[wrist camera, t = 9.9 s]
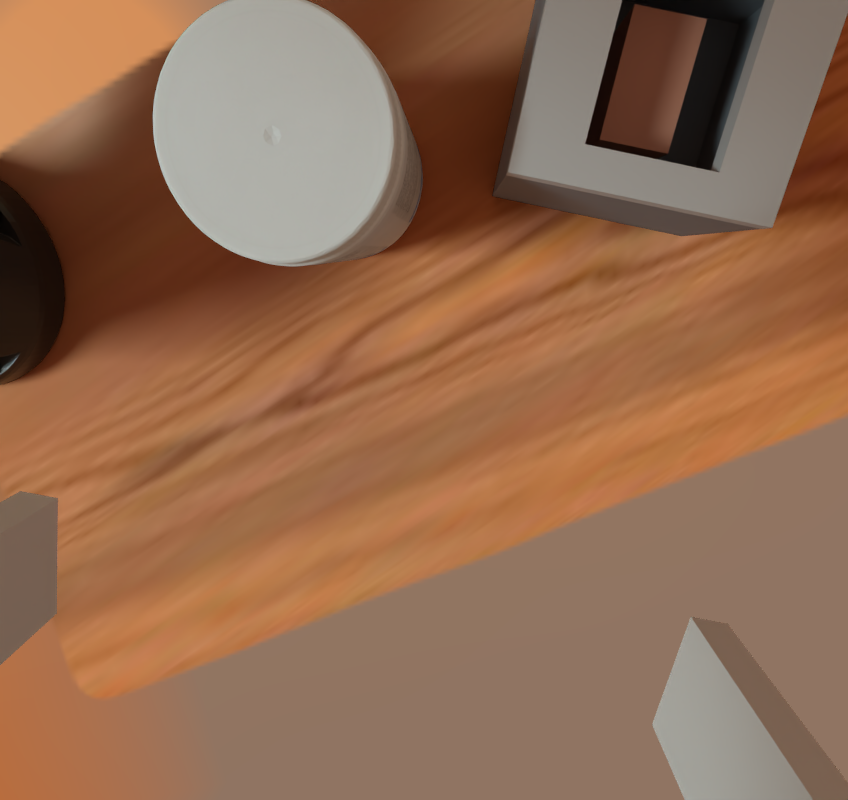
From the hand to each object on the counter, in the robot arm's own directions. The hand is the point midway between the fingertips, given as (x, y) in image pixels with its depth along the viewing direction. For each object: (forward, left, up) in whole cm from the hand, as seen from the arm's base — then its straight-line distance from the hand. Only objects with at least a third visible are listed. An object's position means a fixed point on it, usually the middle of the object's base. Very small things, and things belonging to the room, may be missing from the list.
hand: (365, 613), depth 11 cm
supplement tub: (-7, +10, -27) cm, 30 cm away
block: (+8, +17, -26) cm, 32 cm away
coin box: (+8, +17, -27) cm, 33 cm away
